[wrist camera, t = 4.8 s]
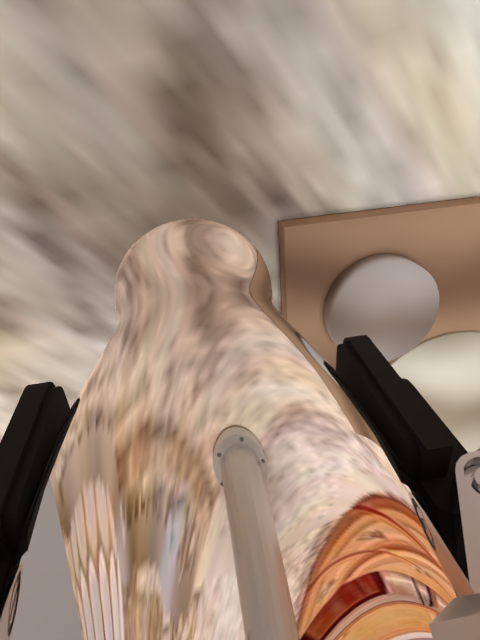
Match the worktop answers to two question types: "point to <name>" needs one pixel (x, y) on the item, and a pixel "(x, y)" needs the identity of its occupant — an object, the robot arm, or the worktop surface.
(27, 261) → the worktop surface
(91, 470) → the beer glass
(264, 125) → the worktop surface
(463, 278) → the carrier plate
